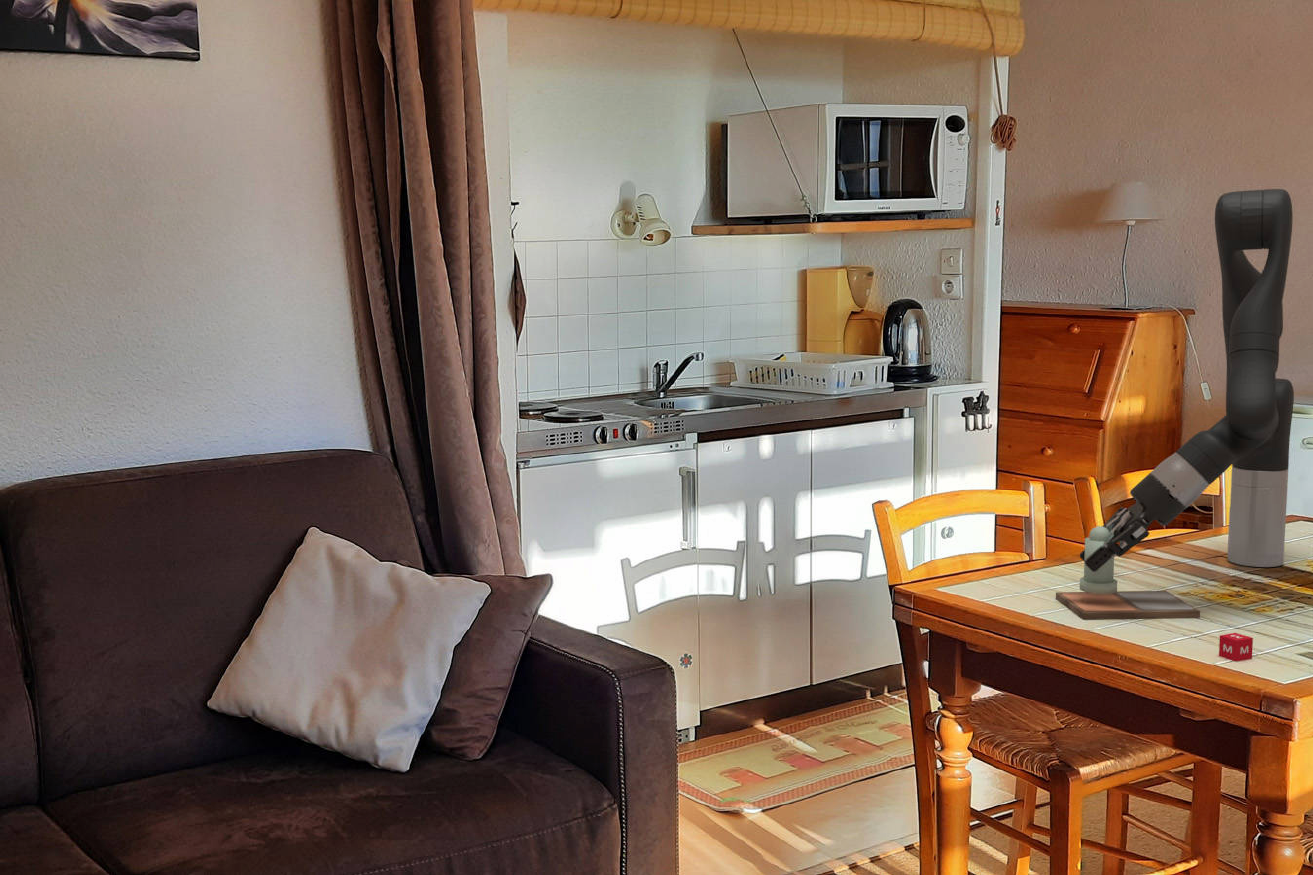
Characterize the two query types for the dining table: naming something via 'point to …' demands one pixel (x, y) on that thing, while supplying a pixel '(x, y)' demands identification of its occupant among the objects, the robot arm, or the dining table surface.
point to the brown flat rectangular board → (1127, 605)
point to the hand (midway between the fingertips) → (1086, 563)
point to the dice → (1235, 647)
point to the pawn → (1103, 576)
